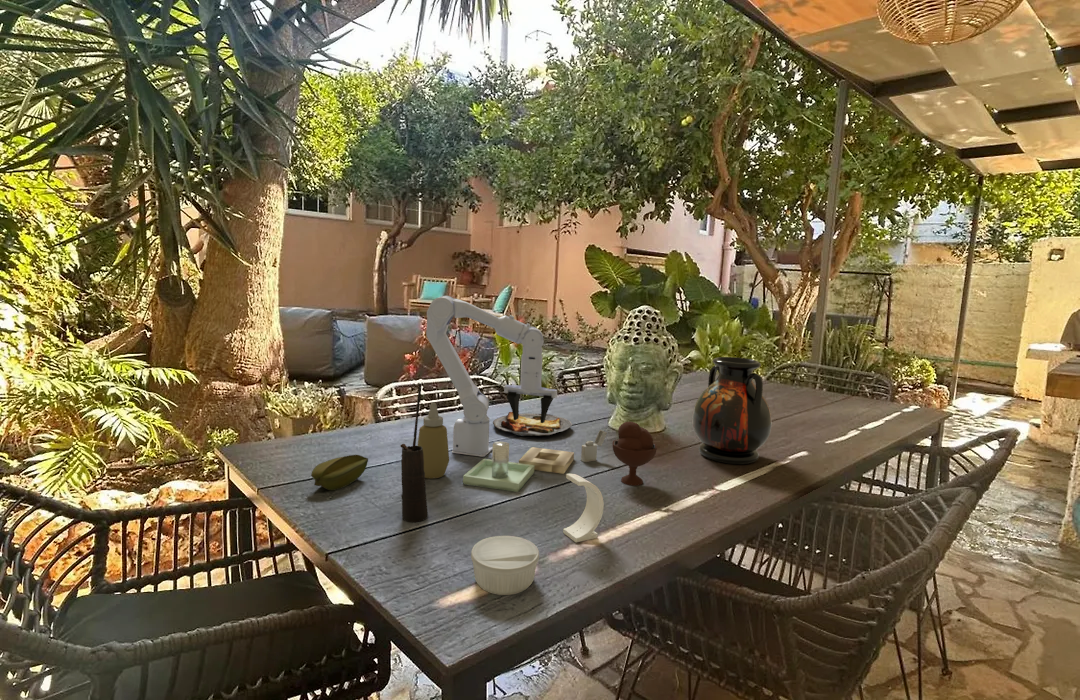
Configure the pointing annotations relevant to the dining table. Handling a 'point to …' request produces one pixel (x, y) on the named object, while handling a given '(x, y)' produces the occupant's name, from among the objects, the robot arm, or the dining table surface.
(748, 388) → the amphora vase
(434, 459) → the squeeze bottle
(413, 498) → the butter churn
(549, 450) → the socket block
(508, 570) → the ramekin
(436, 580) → the dining table surface
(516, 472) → the tray
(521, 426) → the food plate
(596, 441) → the lighter
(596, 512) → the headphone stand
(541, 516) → the dining table surface
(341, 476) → the fruit
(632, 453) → the ice cream bowl
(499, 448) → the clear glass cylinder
